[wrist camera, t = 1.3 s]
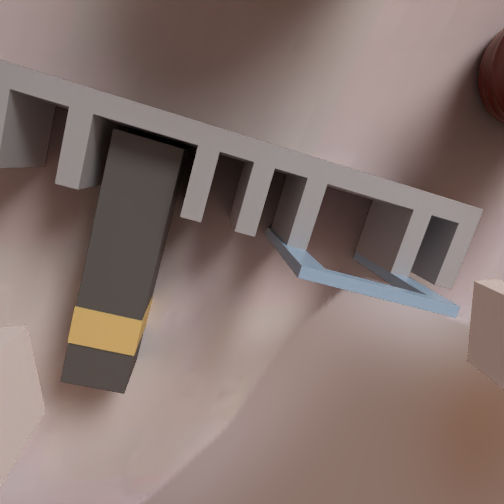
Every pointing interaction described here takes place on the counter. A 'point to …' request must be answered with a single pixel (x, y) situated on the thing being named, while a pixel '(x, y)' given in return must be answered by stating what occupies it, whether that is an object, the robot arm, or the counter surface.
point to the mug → (493, 77)
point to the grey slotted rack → (251, 181)
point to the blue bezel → (364, 280)
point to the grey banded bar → (122, 260)
